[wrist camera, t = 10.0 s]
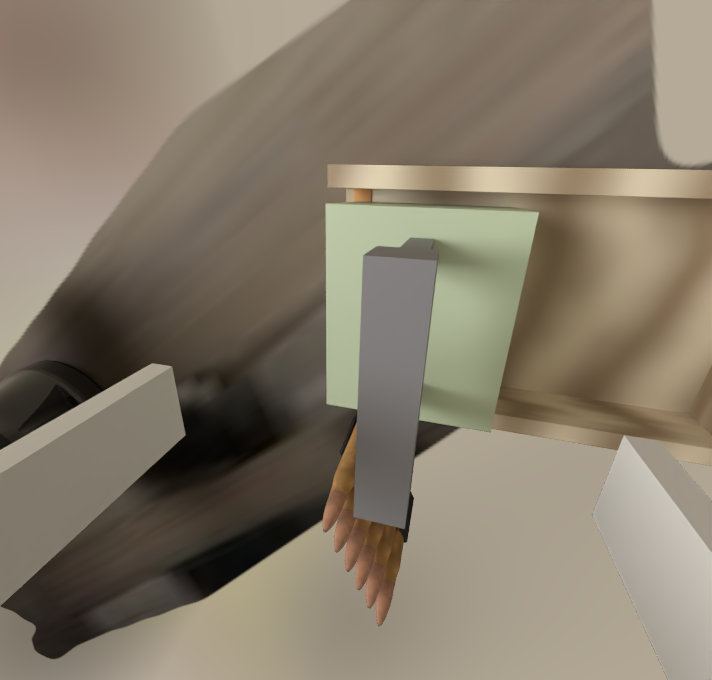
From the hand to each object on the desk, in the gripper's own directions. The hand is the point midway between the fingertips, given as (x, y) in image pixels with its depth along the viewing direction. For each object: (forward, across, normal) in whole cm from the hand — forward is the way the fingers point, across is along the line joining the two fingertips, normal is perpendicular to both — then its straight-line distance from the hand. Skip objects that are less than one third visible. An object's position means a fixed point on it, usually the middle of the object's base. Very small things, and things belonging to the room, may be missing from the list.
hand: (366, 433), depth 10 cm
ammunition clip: (+18, +1, +17) cm, 25 cm away
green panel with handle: (+17, -1, 0) cm, 17 cm away
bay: (+18, -8, 0) cm, 20 cm away
